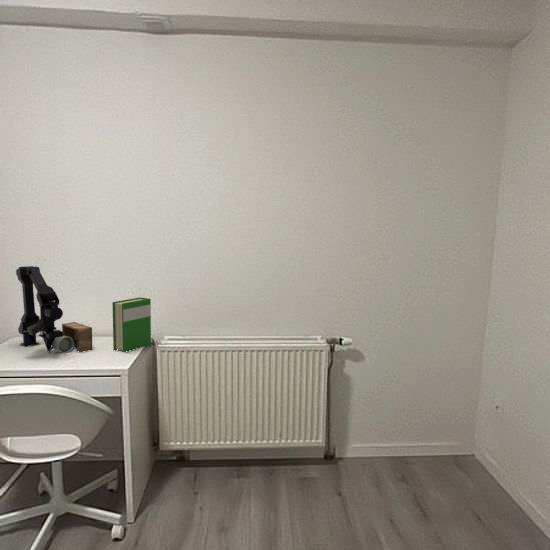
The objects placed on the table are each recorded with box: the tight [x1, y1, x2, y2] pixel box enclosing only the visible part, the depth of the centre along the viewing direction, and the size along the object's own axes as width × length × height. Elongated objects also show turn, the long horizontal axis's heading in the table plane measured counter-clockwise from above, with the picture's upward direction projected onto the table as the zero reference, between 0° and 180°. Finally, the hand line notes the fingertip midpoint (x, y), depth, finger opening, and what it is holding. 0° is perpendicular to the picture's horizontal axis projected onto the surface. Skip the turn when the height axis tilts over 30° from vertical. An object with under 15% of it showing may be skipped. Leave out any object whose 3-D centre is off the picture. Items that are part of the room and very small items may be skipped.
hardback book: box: [112, 297, 152, 353], centre depth 212 cm, size 18×7×24 cm, turn 151°
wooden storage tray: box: [61, 321, 94, 353], centre depth 210 cm, size 18×6×11 cm, turn 51°
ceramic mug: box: [46, 336, 75, 355], centre depth 203 cm, size 11×8×8 cm
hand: (48, 349), depth 200 cm, fingers closed
